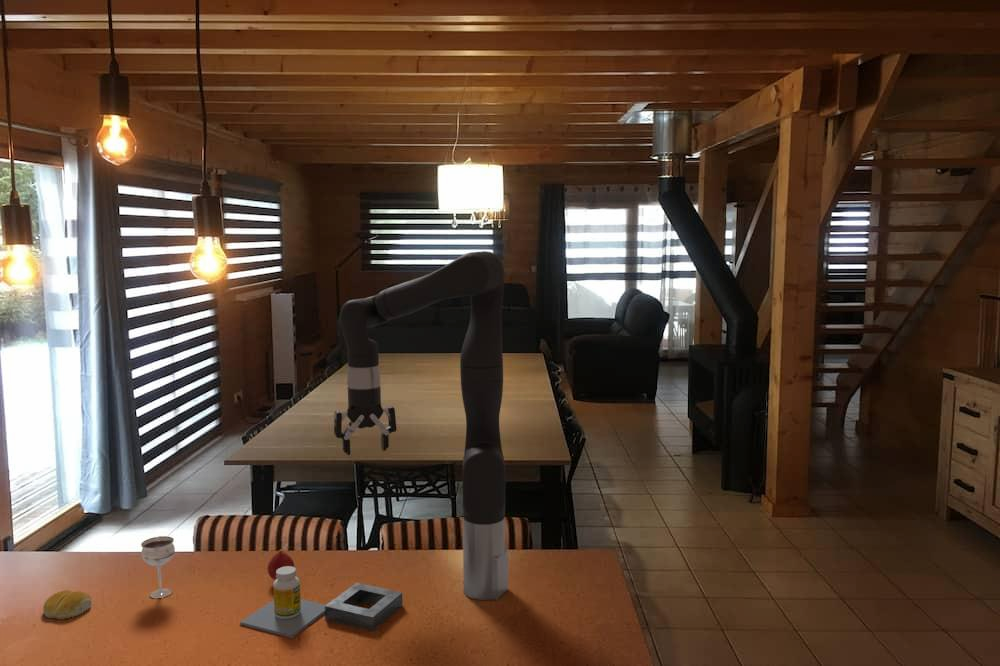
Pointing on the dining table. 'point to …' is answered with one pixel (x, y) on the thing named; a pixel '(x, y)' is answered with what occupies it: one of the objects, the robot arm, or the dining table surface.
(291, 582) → the supplement bottle
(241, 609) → the dining table surface
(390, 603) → the holder ring
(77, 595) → the bread roll
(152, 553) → the wineglass
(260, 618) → the rubber mat
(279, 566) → the onion
